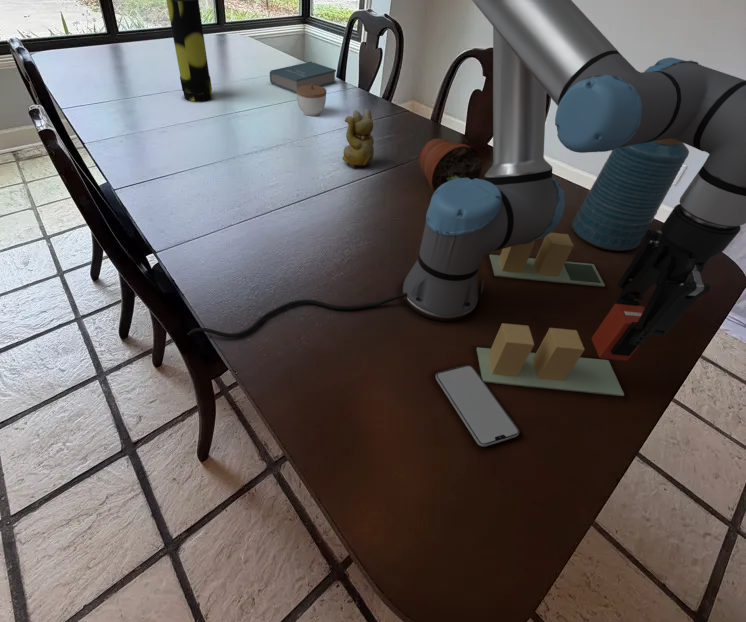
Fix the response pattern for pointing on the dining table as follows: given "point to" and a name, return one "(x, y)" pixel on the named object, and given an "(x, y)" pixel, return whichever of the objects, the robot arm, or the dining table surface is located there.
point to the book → (302, 76)
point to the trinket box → (311, 99)
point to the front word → (545, 362)
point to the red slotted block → (615, 329)
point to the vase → (629, 194)
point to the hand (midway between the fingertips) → (614, 341)
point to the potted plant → (448, 162)
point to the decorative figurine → (359, 139)
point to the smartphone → (477, 406)
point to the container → (190, 49)
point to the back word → (545, 263)
